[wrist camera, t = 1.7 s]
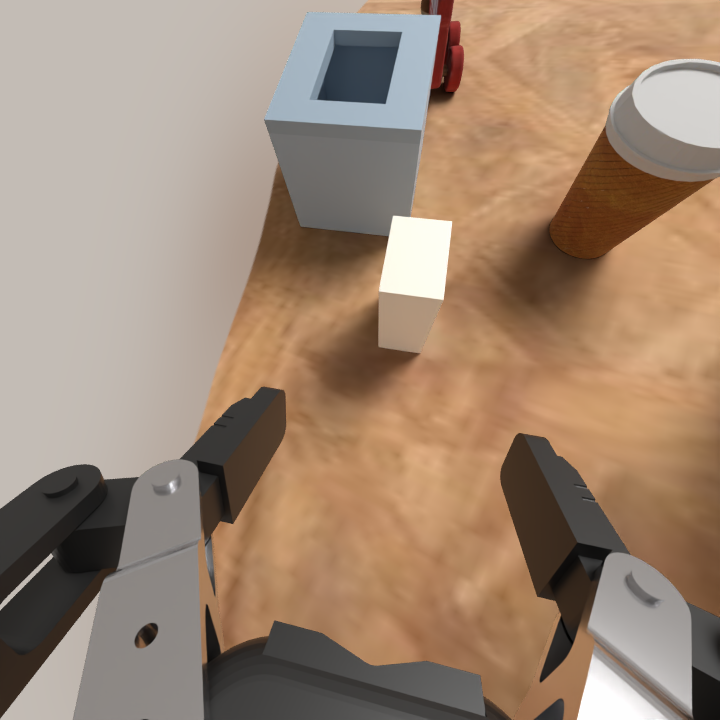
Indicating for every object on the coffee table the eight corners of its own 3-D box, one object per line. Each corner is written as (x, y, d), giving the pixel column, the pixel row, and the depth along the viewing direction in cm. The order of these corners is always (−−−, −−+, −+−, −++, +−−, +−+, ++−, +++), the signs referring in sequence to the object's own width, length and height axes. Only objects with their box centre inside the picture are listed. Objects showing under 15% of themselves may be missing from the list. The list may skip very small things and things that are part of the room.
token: (420, 353, 27) (443, 299, 18) (378, 347, 28) (378, 291, 18) (427, 297, 29) (452, 221, 19) (388, 292, 29) (393, 215, 20)
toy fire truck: (451, 47, 41) (474, -82, 31) (458, 107, 37) (487, -19, 27) (401, 50, 41) (409, -77, 32) (403, 109, 38) (413, -14, 28)
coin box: (327, 137, 37) (307, 12, 26) (422, 144, 35) (441, 15, 25) (300, 226, 33) (264, 119, 22) (407, 238, 31) (421, 130, 21)
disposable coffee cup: (514, 221, 31) (592, 88, 20) (585, 185, 32) (699, 37, 21) (575, 288, 28) (709, 177, 17) (651, 246, 29) (826, 114, 18)
